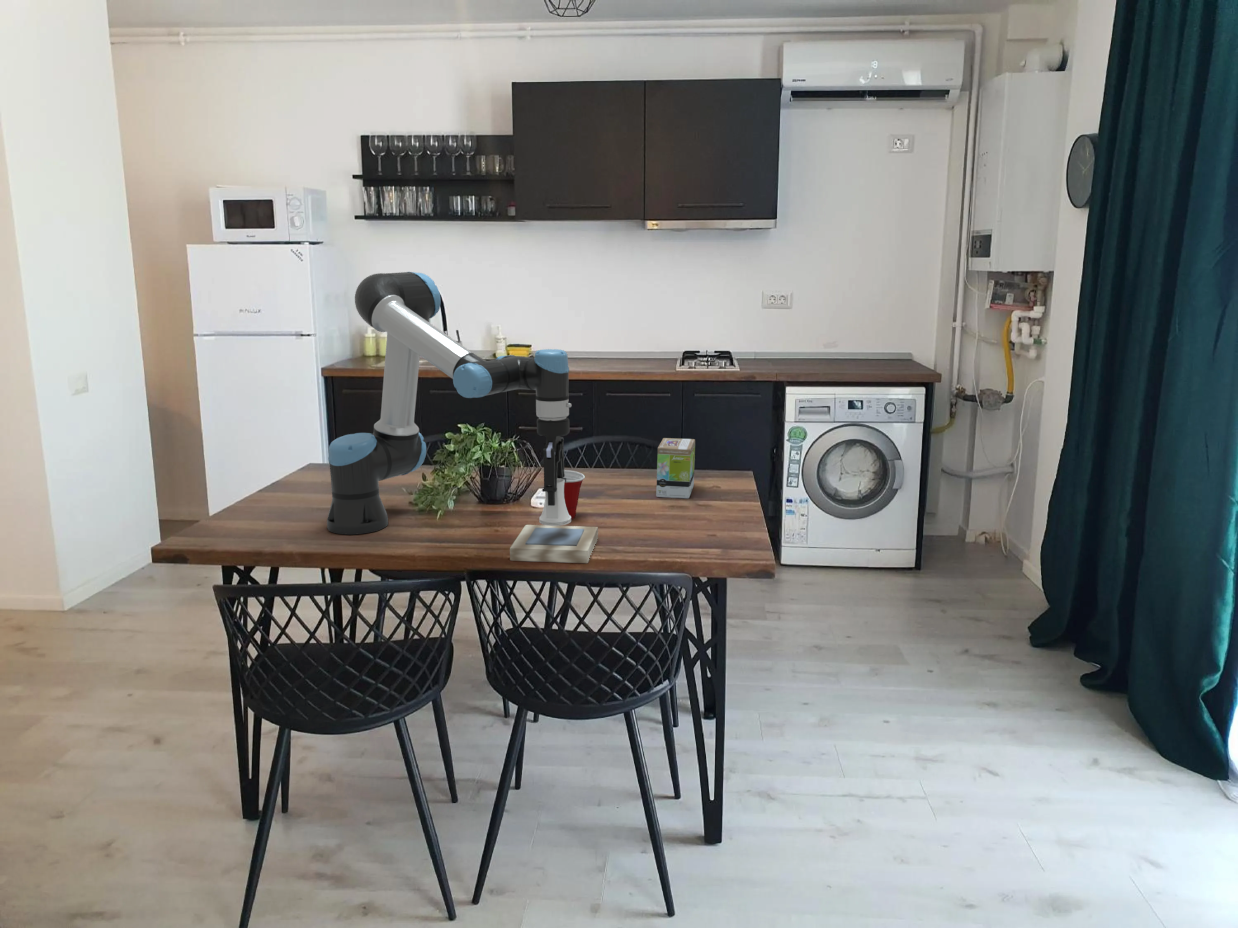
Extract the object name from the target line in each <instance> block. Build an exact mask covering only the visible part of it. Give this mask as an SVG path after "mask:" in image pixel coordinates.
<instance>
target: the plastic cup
mask: <svg viewBox="0 0 1238 928" xmlns="http://www.w3.org/2000/svg"><path fill="white" fill-rule="evenodd" d="M564 474H565V476H564V477H563V478H566V482H564V499H565V504H566V508H567V511H568V513H569V515H570V516H571V520H574V519H575V518H576V514H577V507H578V503H579V502H578V501H579V497H580V492H581V487H582V484H583V482H584V480H585V475H584V474H583V473H582V472H579V471H576V470H568V469H564Z"/></svg>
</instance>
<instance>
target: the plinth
mask: <svg viewBox="0 0 1238 928" xmlns="http://www.w3.org/2000/svg"><path fill="white" fill-rule="evenodd" d="M597 539H598V540H599V527H598V526H584V525H583V526H580V525H560V526H548V525H543V524H525V525H524V527H523V528H522V530H521V531H520V533H519V534H518V536H517V537H516V539H515V540H514V541H513V543H512V544H511V546H510V547H509V560H510V561H513V562H514V561H515V562H516V561H517V562H539V563H540V562H541V563H542V562H544V563H545V562H546V563H569V564H571V563H573V564H588V563H589V562H590V559H591V557H590V555H591V556H592V554H593V552H592V551H594V550H593V549H594V548H595V547H596V545H595V544H597V542H598V540H597ZM594 546H595V547H594ZM591 553H592V554H591ZM589 558H590V559H589Z"/></svg>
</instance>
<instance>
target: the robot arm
mask: <svg viewBox="0 0 1238 928" xmlns="http://www.w3.org/2000/svg"><path fill="white" fill-rule="evenodd" d="M354 293H355V294H354V305H355V309H356V311H357V313H358V315H359V316H360V318H361V319H362V320H363V321H364V322H365V323H367V325H369V326H370V327H372V328H373V329H374V330H376V331H377V332H378V333H379V332H380V333H386V345H385V357H384V370H383V383H382V395H381V396H382V397H381V406H380V407H381V409H380V419H379V420H378V421H376V422H375V423H374V424H373V433H370V432H356V433H350V434H349V433H348V434H344V435H343V436H339V437H336V439H334V440H332V441H331V442H330V444H329V447H328V459H327V460H328V463H329V470H330V471H329V473H330V475H329V476H330V485H331V498H332V499H331V503H330V507H329V510H328V515H327V519H326V527H327V530H328V531H329V532H331V533H334V534H338V535H361V534H362V535H364V534H369V533H374V532H377V531H380V530H383V529H385V528H386V527H387V526H388V525H389V517H388V513H387V510H386V507H385V506H384V504H383V501H382V499H381V496H380V485H379V482H380V481H384V480H389V479H392V478H395V477H399V476H405V475H408V474H410V473H412V472H415V471H416V470H418V469H419V468H420V467H421V466H422V464H424V462H425V460H426V459H425V458H426V456H427V443H426V442H425V441H424V440H425V438H424V436H423V435H422V433H420V428H419V426H418V425H417V424H416V423H415V416H416V415H415V412H416V403H417V391H418V381H419V380H418V379H419V368H420V361H421V359H420V358H423V359H424V360H426V361H427V362H428V363H430V364H431V365H433V366H434V367H435V368H436V369H437V370H440V371H441V372H442V373H444V374H445V375H447V377H449V378H451V379H452V382H453V383H452V384H453V387H454V388H455V389H456V391H457V393H458V395H460V396H462V397H463V398H466V399H473V398H477V399H478V398H483V397H485V396H490V395H494V394H500V393H506V392H509V391H514V390H530V391H535V413H536V417H537V419H536V433H537V435H539V436H541V437H545V442H544V443H543V449H542V453H543V488H541V491H542V492H543V493H544V492H546V518H554V519H558V518H559V517H558V491H557V478H561V479H564V480H565V482H566V478H563V477H564V476H565V474H564V470H565V459H564V458H565V455H564V454H565V453H564V452H565V451H564V441H565V439H564V436H567V435H569V434H570V432H571V430H570V419H569V415H570V408H572V403H570V402H569V399H570V395H569V379H570V378H569V376H570V375H569V372H570V367H569V359H568V354H567V352H566V351H565V350H564V349H557V348H554V349H553V348H552V349H551V348H545V349H544V348H543V349H539V350H536V351H535V353H534V357H528V356H519V355H518V356H517V355H514V354H510V355H500V356H497V358H495V359H490V360H484V359H483V358H481V357H480V356H478V355H477V354H476V353H474V352H472V351H470V350H469V349H468V348H467V347H465V346H463V345H462V344H461V343H459V342H458V341H456V340H455V339H453V338H452V337H451V336H449V335H447V334H446V333H445V332H444V331H442V330H441V329H439V328H438V327H437V326H435V325H433V324H432V323H431V322H430V319H432V318H434V317H435V316H436V315H437V314H438V313H439V311H440V307H441V294H440V290H439V288H438V286H437V285H436V283H435V281H434V280H433V279H432V278H431V277H430V276H429V275H427V274H425V273H422V272H415V271H413V272H412V271H406V272H405V271H404V272H403V271H402V272H401V271H400V272H391V273H390V272H389V273H388V272H387V273H385V272H384V273H383V272H381V273H380V272H378V273H373V274H371V275H369V276H366V277H365V278H363V280H361V282H360V283H359V284H358V286H357V287H356V290H355V292H354Z"/></svg>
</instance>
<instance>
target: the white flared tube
mask: <svg viewBox="0 0 1238 928" xmlns="http://www.w3.org/2000/svg"><path fill="white" fill-rule="evenodd" d="M564 482H565V480H564V479H561V478H557V491H558V517H559V518H558V519H554V518H546V492H545V495H544V496H545V497H544V504H543V509H542V513H541V514H540V516H539V517H538V519H539V521H538V522H539V523H540V525H548V526H567V525H568V524H570V523H571V522H572V519H571V516H570V515H569V513H568V511H567V508H566V504H565V499H564Z"/></svg>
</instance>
